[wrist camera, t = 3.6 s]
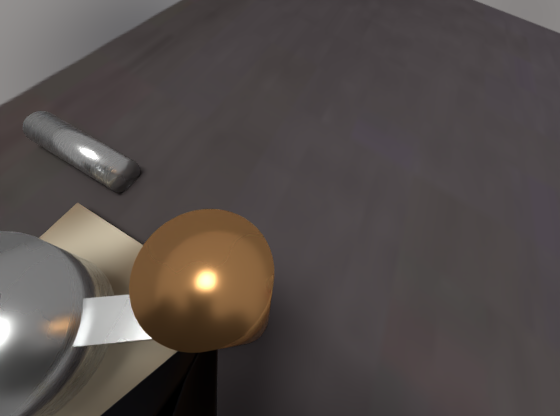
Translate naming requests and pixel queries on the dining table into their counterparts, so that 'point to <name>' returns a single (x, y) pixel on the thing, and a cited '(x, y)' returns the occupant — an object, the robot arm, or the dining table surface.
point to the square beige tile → (117, 268)
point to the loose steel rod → (81, 150)
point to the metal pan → (125, 304)
